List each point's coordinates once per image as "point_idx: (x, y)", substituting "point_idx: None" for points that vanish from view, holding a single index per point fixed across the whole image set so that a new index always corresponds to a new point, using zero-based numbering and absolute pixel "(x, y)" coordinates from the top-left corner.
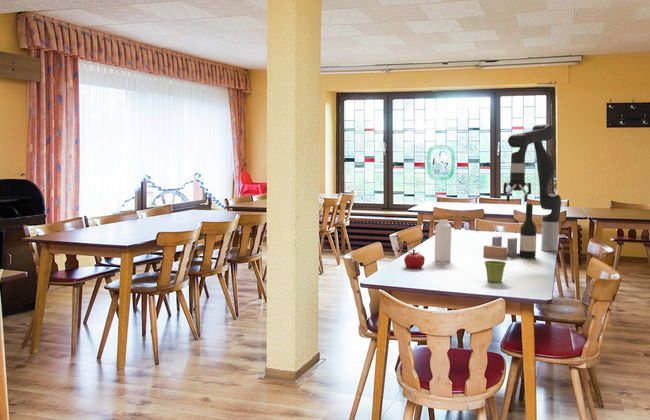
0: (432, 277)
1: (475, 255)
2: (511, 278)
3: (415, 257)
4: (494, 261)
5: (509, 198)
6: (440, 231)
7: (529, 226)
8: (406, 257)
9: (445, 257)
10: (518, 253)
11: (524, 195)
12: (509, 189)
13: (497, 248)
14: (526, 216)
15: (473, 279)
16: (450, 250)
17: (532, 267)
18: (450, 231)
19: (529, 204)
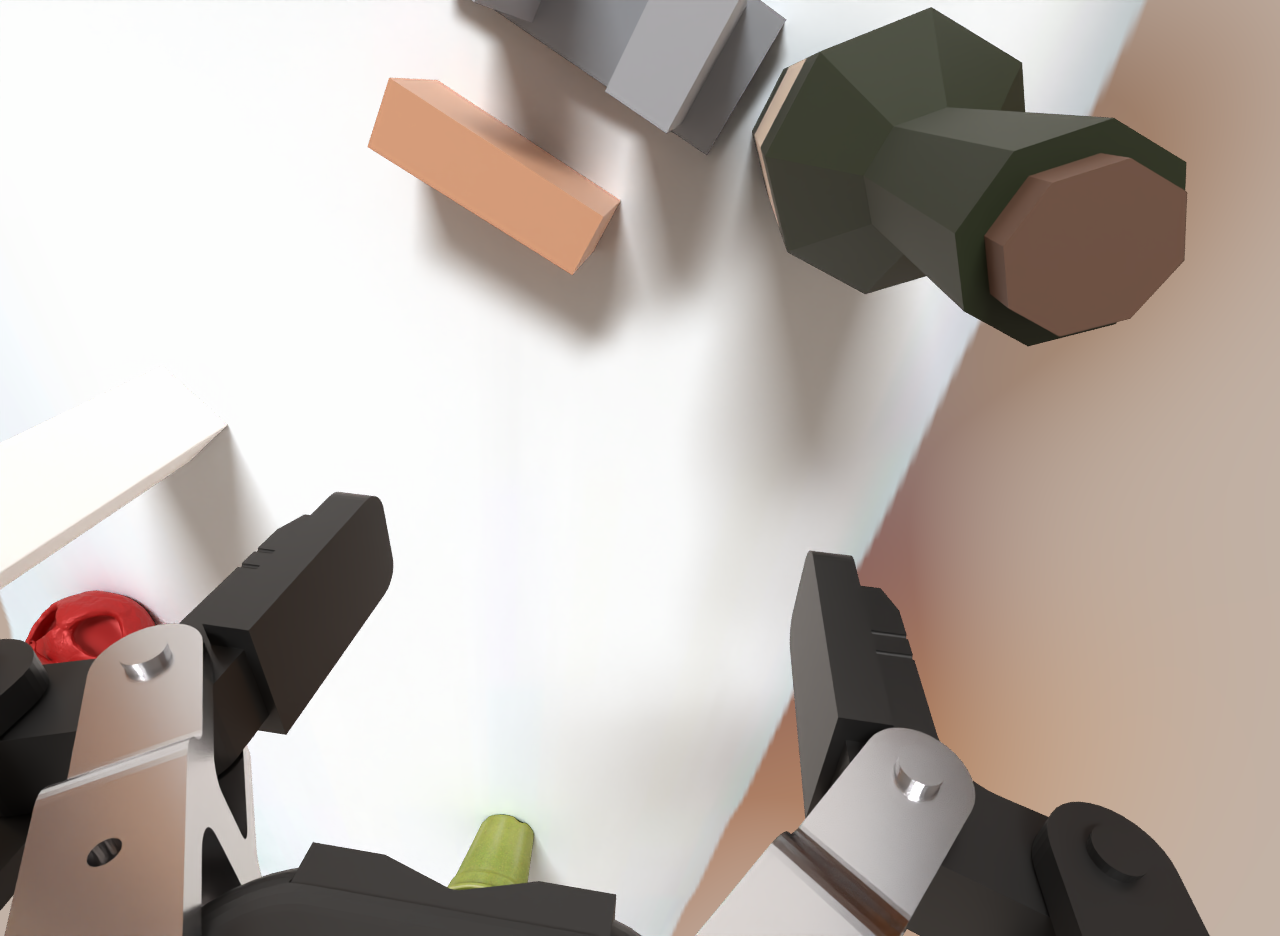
0: (275, 778)
1: (340, 87)
2: (577, 791)
3: None
4: (480, 885)
5: (345, 645)
6: None
7: (875, 284)
8: None
9: (184, 461)
10: (758, 42)
11: (833, 709)
12: (43, 822)
13: (511, 232)
14: (883, 217)
15: (428, 803)
16: (171, 462)
17: (738, 573)
18: (34, 553)
19: (1038, 320)
